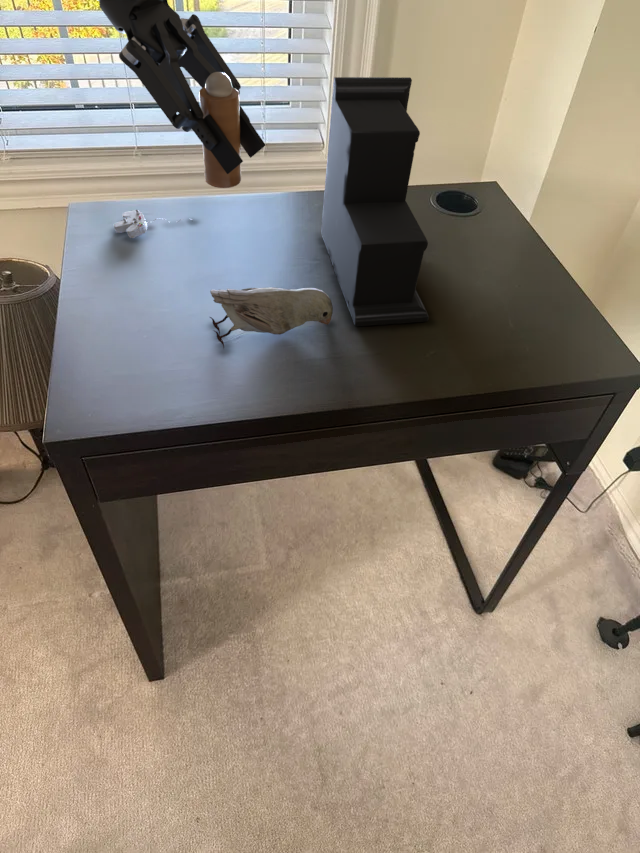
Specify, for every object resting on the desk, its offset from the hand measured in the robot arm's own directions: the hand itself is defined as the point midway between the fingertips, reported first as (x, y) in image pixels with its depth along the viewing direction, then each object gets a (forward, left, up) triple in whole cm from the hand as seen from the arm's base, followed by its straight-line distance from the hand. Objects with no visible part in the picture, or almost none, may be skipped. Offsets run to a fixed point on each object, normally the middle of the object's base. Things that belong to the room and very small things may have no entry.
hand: (246, 159), depth 82 cm
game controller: (-18, +2, -17) cm, 25 cm away
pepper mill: (-4, 0, -4) cm, 5 cm away
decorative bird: (+10, -11, -17) cm, 22 cm away
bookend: (+16, +8, -17) cm, 24 cm away
